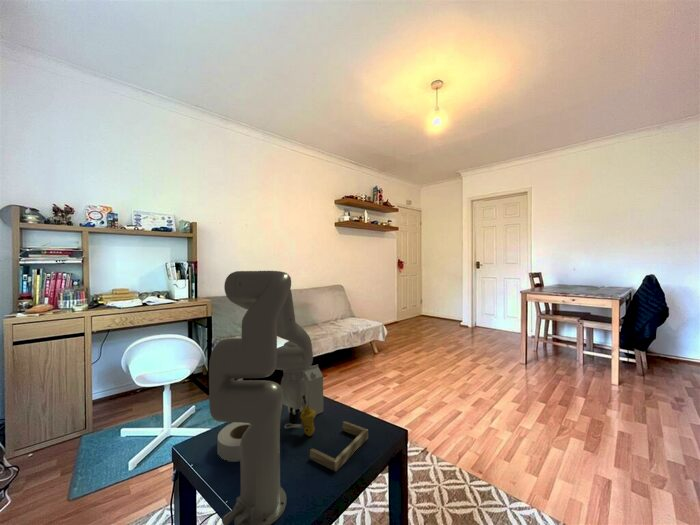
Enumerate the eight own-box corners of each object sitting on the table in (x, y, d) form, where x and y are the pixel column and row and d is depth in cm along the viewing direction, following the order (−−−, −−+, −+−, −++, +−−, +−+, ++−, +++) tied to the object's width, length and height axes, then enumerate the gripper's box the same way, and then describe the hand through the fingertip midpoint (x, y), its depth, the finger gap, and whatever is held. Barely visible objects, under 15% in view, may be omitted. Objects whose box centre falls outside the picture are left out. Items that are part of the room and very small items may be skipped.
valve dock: (336, 472, 83) (336, 462, 83) (309, 459, 89) (309, 450, 89) (368, 438, 99) (368, 429, 99) (344, 428, 105) (344, 420, 105)
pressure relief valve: (314, 439, 98) (311, 411, 98) (282, 438, 100) (279, 410, 100) (318, 429, 104) (316, 403, 104) (288, 429, 106) (285, 402, 106)
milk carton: (299, 411, 117) (299, 366, 117) (313, 405, 122) (313, 362, 122) (309, 418, 112) (308, 371, 112) (323, 412, 117) (323, 366, 117)
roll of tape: (240, 429, 105) (240, 414, 105) (276, 438, 100) (275, 422, 100) (205, 457, 90) (205, 440, 90) (246, 469, 85) (245, 450, 85)
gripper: (272, 373, 107) (272, 421, 107) (301, 382, 99) (301, 434, 99) (286, 367, 113) (287, 412, 113) (315, 375, 105) (315, 424, 105)
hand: (294, 422), depth 106 cm, fingers closed
